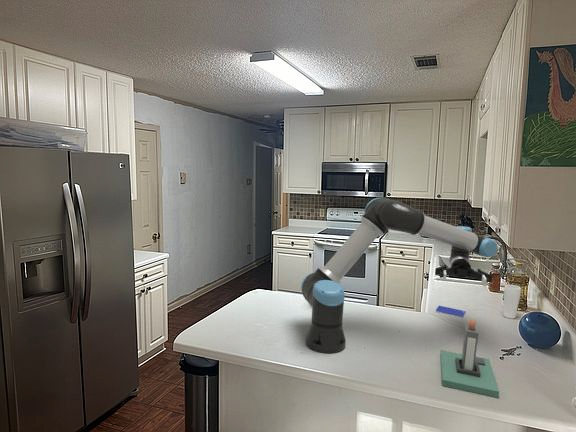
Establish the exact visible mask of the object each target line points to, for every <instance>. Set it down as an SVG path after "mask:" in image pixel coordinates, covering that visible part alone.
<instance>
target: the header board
mask: <svg viewBox="0 0 576 432" xmlns="http://www.w3.org/2000/svg"><path fill="white" fill-rule="evenodd" d="M461 360H462V353H459V352H453V351H449V350H448V351H447V350H442V349H441V350H440V371H441V385H442V387H446V388H451V389H456V390H460V391H465V392H470V393H474V394H478V395H484V396H488V397H493V398H499V396H500V390H499V386H498V384H497V381H496V380H497V379H496V377H495V374H494V371H493V367H492V364H491V361H490V358H485V357H482V356H476V358H475V366H474V371H470V370H465V369H461Z"/></svg>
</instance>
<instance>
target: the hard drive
mask: <svg viewBox="0 0 576 432" xmlns="http://www.w3.org/2000/svg"><path fill="white" fill-rule="evenodd" d="M466 312H467V311H466V310H461V309H456V308H452V307H448V306H443V305H438V306H437V308H436V309H435V313H439V314H443V315H448V316H451V317H457V318H461V319H464V317H465V315H466Z"/></svg>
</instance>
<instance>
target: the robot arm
mask: <svg viewBox="0 0 576 432" xmlns="http://www.w3.org/2000/svg"><path fill="white" fill-rule="evenodd" d="M360 220H361V221H360V223H359V225H358V226H357V227H356V229H355V230H354V231H353V232H352V233H351V235H350V236H348V238H347V240H345V242H344V243H343V244H342V245H341V247H340V248H339V249H338V250H337V251H336V252H335V253H334V255H333V256H331V258H330V259H329V261H328V262H326V264H325V265H324V266H319V267H317V269H316V270H315V271H314V272H313V273H308V274H307V275H306V276H305V277H303V279H302V281H301V286H300V287H301V288H300V289H301V294H302V296H303V299H305V301H306V302H307V303H308V304H309V305H310V307H311V324H310V325H309V328H308V331H307V334H306V337H305V345H306V346H307V347H308V348H309V349H311V350H312V351H315V352H318V353H324V354H334V353H339V352H341V351H343V350H344V349H345V348H346V346H347V345H346V342H347V341H346V340H347V339H346V335H345V331H344V329H343V316H344V303H345V302H344V301H345V289H344V288H345V287H343V285H342V284H341V280H342V279H343V278H344V277H345V275H347V273H348V272H349V271H350V270H351V268H352V267H353V266H354V265H355V264H356V263H357V262H358V260H359V259H360V258H361V257H362V256H363V254H364V253H365V252H366V251H367V250H368V248H369V247H370V246H371V245H372V244H373V242H374V241H375V240H376V239H377V238H378V237H383V236H384V235H385V234H386V233H387V232H388V231H389V230H390V231H396V232H401V233H406V234H409V235H412V236H414V235H415V236H416V235H419V236H420V235H421V236H423V237H426V238H429V239H432V240H435V241H437V242H441V243H444V244H447V245H449V246H451V249H450V256H449V260H448V261H449V265H450V266H449V265H447V264H444V265H442V266H439V267H436V268H435V271H434V275H435V276H439V278H441V279H442V281H443V282H447V281H446V280H447V276H455V277H456V278H459V279H463V278H467V277H468V278H470V279H471V278H474V279H476V280H479V281H481V284H482V286H483V287H484V288H486V287H487V284H488V283H493V282H492V281H493V275H492V274H490V273H488V272H486V271H483V270H482V269H480V268H477V269H476V270H475V269H474V268H472V266H471V263H470V261H469V260H470V253H473V254H474V255H479V256H481V257H484V258H491V257H494V256H495V254H497V251H498V248H499V247H498V243H497V241H495V240H494V239H492V238H490V237H485V236H483V235H480V234H476V233H474V232H473V228H471V227H470V226H463V225H457V226H456V225H452V224H450V223H446V222H444V221H442V220H439V219H435V218H433V217H430V216H428V215H425V213H424V211H421V210H418V209H416V208H414V207H412V206H409V205H407V204H406V203H404V202H402V201H399V200H395V199H390V198H387V197H376V198H373V199H372V200H370V201H369V202H368V203H367V204H366V206H365V209H364V214H363V215H362V216H361V217H360Z"/></svg>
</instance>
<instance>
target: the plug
mask: <svg viewBox="0 0 576 432" xmlns="http://www.w3.org/2000/svg"><path fill="white" fill-rule="evenodd" d="M476 324H477V321H476V319H473V318H472V319H469V321H468V325H464V334H463V342H462V343H463V344H462V352H461V354H462V360H461V369H465V370H470V371H474V366H475V358H476V357H477V349H478V340H479V331H478V327H476Z"/></svg>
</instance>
